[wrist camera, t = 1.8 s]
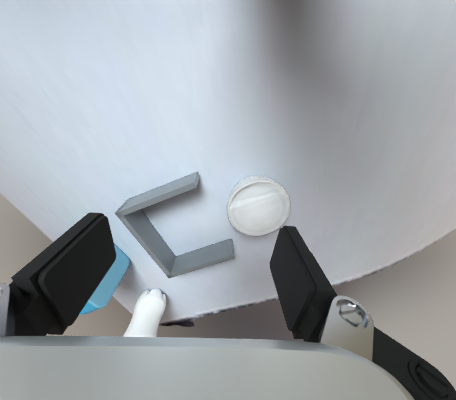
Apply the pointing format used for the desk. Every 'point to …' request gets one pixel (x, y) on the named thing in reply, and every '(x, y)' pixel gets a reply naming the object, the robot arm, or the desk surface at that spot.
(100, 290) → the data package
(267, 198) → the ramekin
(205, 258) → the box
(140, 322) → the water bottle
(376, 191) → the desk surface
